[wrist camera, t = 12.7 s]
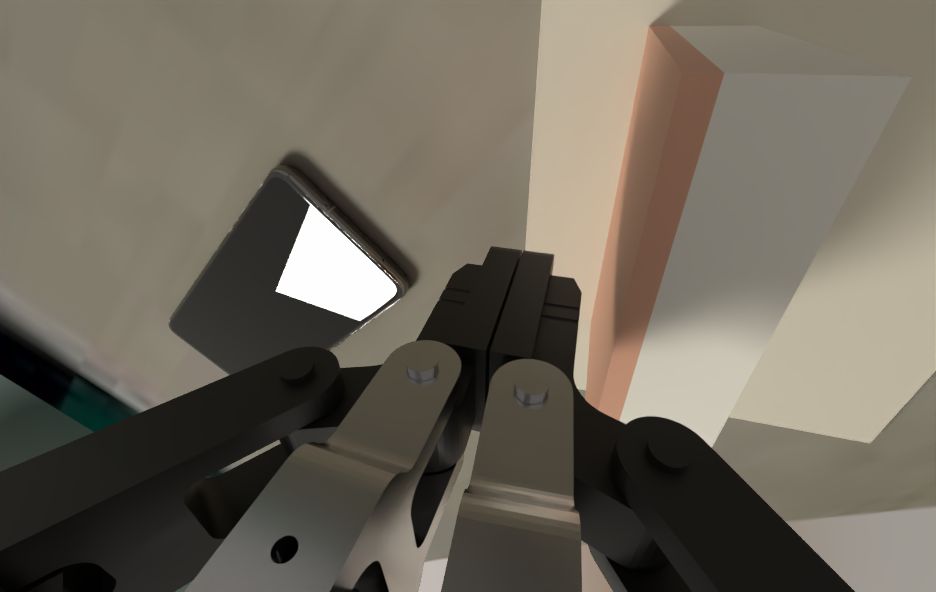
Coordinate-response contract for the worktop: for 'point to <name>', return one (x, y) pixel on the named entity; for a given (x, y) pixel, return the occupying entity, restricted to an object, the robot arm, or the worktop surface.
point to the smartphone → (286, 279)
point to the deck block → (722, 211)
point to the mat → (847, 242)
